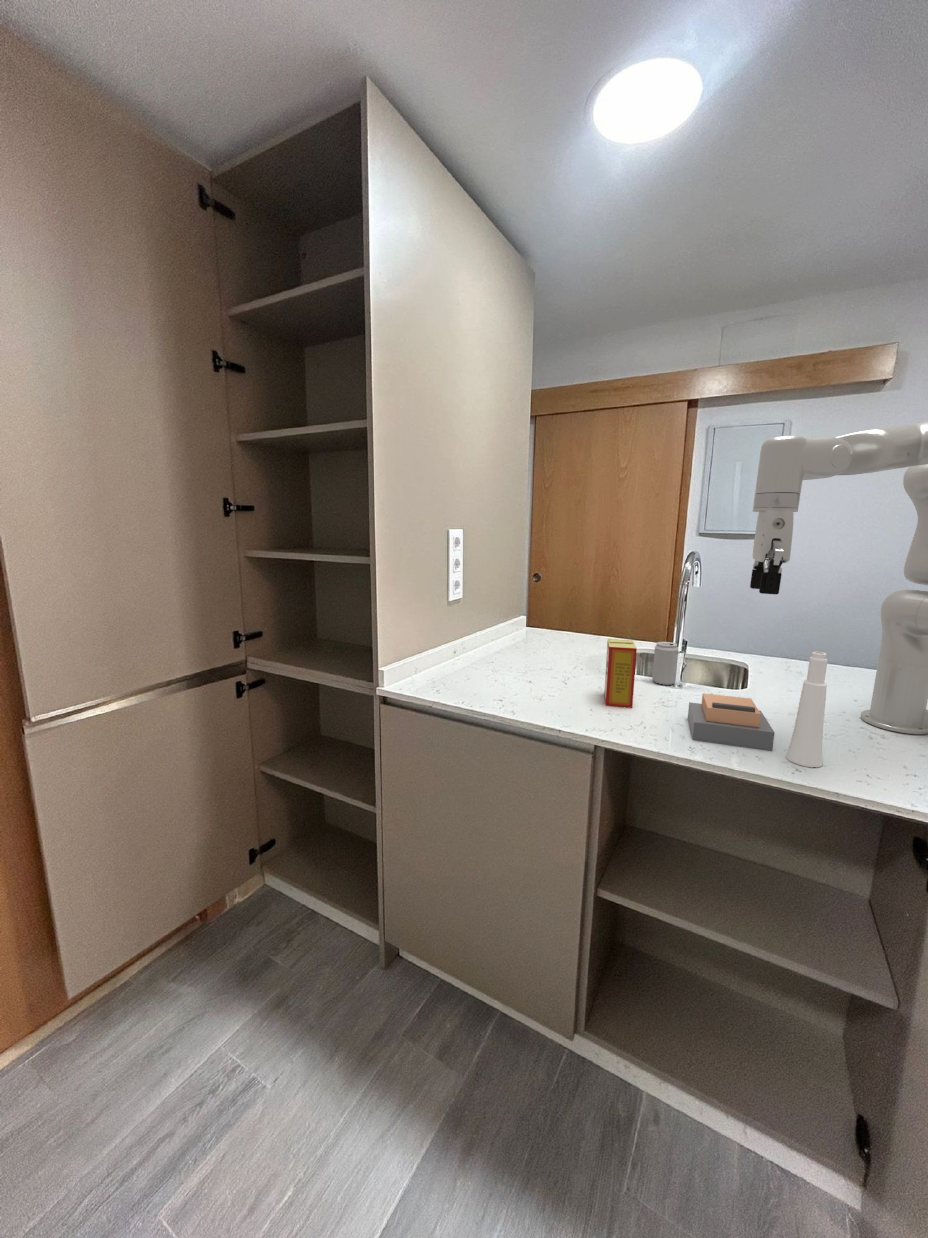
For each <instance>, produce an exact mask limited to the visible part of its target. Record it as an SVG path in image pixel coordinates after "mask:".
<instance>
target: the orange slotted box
mask: <svg viewBox="0 0 928 1238" xmlns="http://www.w3.org/2000/svg"><path fill="white" fill-rule="evenodd" d="M700 704H701V706H702V709H703V712H704V715H705V718H706V721H711V722H719V723H727V724H735V725H743V726H751V727H759V725H760V717H761V713H760V712H759V710H760V709H758V707H757V706H756V704H755V702H754V701H753V699H752V698H750V697H742V696H741V697H740V696H731V695H724V694H723V695H721V694H713V693H705V692H703V693H702V697H701V703H700Z"/></svg>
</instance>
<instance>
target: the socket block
mask: <svg viewBox="0 0 928 1238" xmlns="http://www.w3.org/2000/svg"><path fill="white" fill-rule="evenodd" d="M701 704H702V703H698V702H690V701H689V703H688V711H687V712H688V713H687V721H688V725H689V730H690V734H691V738H692V740H693V741H700V742H707V743H713V744H714V743H715V744H721V745H722V744H723V745H729V746H736V747H743V748H749V749H750V748H751V749H756V750H765V751H771V752H773V747H774V740H775V734H776V733H775V731H774V729H773V727H772V726H771V724H770V723H769V721H768V720H767V718H766V717H765V715H764V713H763V712H762V710H760V709H758V710H759V712H760V713H761V717H760V725H759V727H751V726H743V725H735V724H727V723H719V722H711V721H706V718H705V715H704V712H703V709H702V706H701Z"/></svg>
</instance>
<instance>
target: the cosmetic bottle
mask: <svg viewBox="0 0 928 1238" xmlns="http://www.w3.org/2000/svg"><path fill="white" fill-rule="evenodd" d="M827 655H828V654H827V653H826V652H823V651H812V652H811V656H810V657H809V660H808V667H807V668H808V669H807V675H806V679H805V680H803V683H802V687H801V693H800V698H799V702H798V707H797V712H796V718H795V723H794V727H793V731H792V735H791V738H790V743H789V744H788V745H789V746H788V748H787V752H786V753H785V758H786V759H787V760H788V761H789V762H791V763H793V764H795V765H799V766H802V767H804V768H805V767H806V768H813V767H816V768H821V767H822V766H823V765H824V760H823V737H824V736H823V734H824V733H823V732H824V723H825V713H826V711H825V710H826V700H827V687H828V685H827V683H826V682H825V681H826V675H827V673H826V672H827V667H828V658H827Z"/></svg>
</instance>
